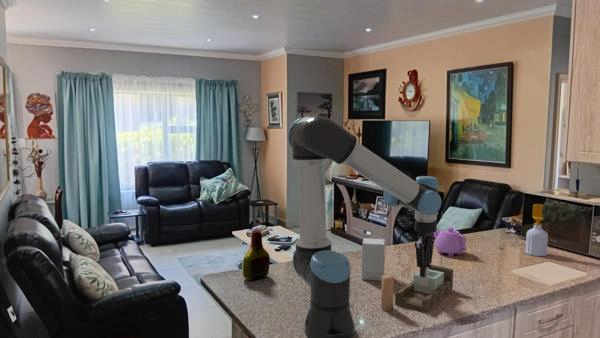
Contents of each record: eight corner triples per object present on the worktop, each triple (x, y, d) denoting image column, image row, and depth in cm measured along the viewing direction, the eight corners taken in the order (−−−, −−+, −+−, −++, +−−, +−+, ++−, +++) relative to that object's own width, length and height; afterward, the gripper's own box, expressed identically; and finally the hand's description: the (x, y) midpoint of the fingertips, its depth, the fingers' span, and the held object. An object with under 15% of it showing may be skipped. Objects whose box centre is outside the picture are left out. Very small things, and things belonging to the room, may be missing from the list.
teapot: (421, 250, 223) (422, 225, 222) (440, 245, 231) (441, 221, 230) (456, 260, 207) (457, 233, 206) (475, 255, 215) (476, 229, 214)
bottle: (266, 273, 188) (266, 226, 186) (273, 278, 182) (273, 229, 180) (239, 278, 182) (239, 229, 180) (245, 283, 176) (245, 233, 174)
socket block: (434, 295, 160) (434, 279, 160) (413, 290, 165) (414, 274, 165) (443, 288, 167) (444, 272, 167) (423, 283, 172) (423, 268, 172)
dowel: (389, 312, 151) (390, 280, 149) (378, 309, 153) (379, 277, 152) (395, 308, 154) (396, 276, 153) (384, 305, 156) (385, 274, 155)
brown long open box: (425, 312, 150) (426, 289, 149) (394, 304, 157) (395, 282, 156) (452, 289, 171) (453, 269, 170) (424, 283, 177) (425, 263, 177)
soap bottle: (527, 255, 215) (530, 204, 212) (524, 250, 224) (526, 201, 221) (548, 257, 212) (551, 205, 210) (544, 252, 221) (547, 202, 218)
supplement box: (383, 281, 179) (384, 244, 178) (361, 279, 181) (361, 243, 180) (384, 274, 188) (385, 238, 187) (362, 272, 190) (363, 237, 188)
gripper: (428, 225, 152) (426, 292, 154) (442, 218, 162) (440, 282, 165) (407, 221, 156) (406, 287, 159) (423, 215, 167) (421, 277, 169)
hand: (423, 284), depth 162 cm, fingers closed
